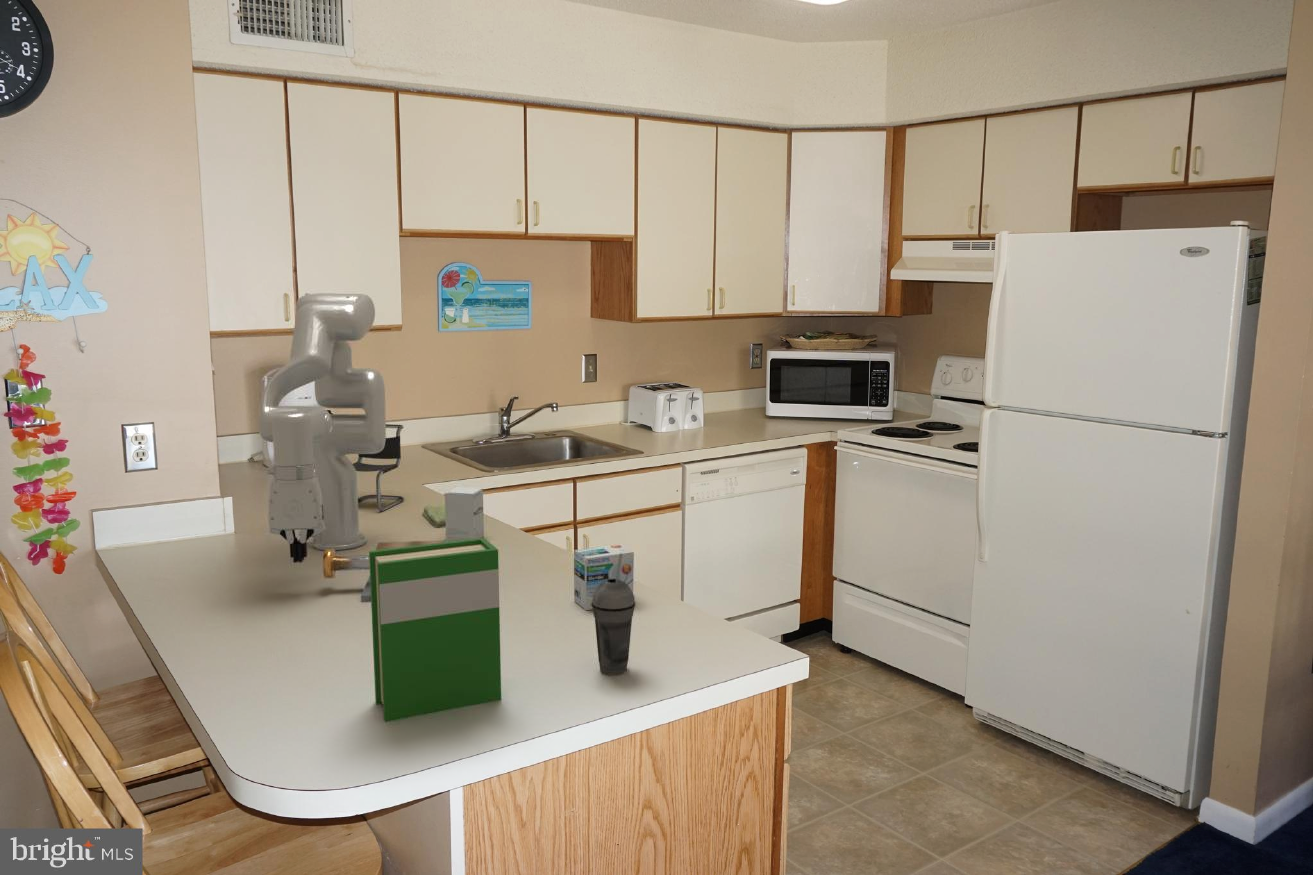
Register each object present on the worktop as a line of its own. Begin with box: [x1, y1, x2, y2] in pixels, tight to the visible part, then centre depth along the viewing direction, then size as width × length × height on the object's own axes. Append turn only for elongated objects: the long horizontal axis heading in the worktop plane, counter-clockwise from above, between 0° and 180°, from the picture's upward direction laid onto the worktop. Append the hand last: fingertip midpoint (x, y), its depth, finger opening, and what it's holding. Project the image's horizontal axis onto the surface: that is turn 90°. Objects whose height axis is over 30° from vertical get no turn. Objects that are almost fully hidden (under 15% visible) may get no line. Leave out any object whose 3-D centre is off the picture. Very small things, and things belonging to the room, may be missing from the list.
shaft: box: [322, 549, 370, 580], centre depth 202 cm, size 20×6×6 cm, turn 99°
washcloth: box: [422, 504, 446, 528], centre depth 261 cm, size 13×18×3 cm
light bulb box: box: [573, 543, 635, 611], centre depth 194 cm, size 11×7×11 cm, turn 117°
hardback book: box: [368, 537, 502, 723], centre depth 148 cm, size 18×7×24 cm, turn 116°
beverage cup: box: [591, 553, 636, 676], centre depth 160 cm, size 7×7×20 cm
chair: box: [352, 423, 404, 512], centre depth 273 cm, size 13×17×22 cm
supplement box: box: [444, 486, 485, 542], centre depth 239 cm, size 7×7×13 cm
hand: (299, 560), depth 199 cm, fingers closed
